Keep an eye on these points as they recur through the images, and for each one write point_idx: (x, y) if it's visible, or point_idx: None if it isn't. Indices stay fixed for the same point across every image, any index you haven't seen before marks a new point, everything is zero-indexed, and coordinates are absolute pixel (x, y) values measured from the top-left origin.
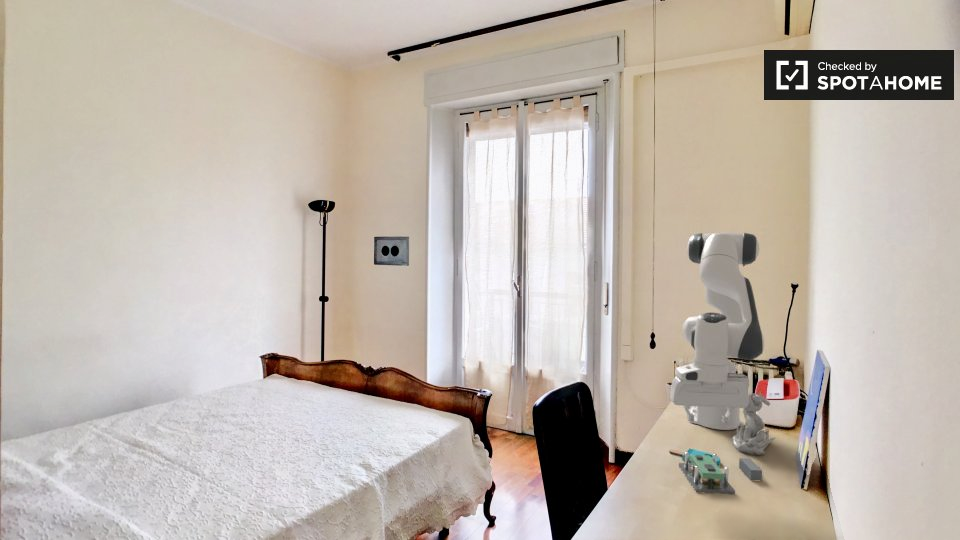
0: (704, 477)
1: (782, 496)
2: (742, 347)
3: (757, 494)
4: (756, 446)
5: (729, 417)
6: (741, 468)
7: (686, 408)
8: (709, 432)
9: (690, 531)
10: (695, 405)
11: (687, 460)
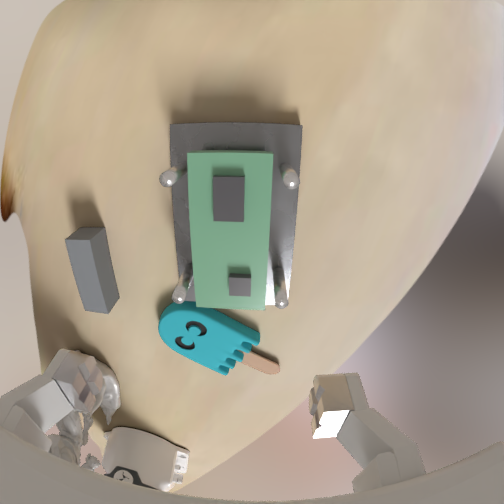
0: (265, 151)
1: (58, 145)
2: None
3: (109, 140)
4: None
5: (45, 373)
6: (113, 286)
7: (410, 452)
8: (160, 427)
9: None
10: (350, 499)
11: (279, 283)
